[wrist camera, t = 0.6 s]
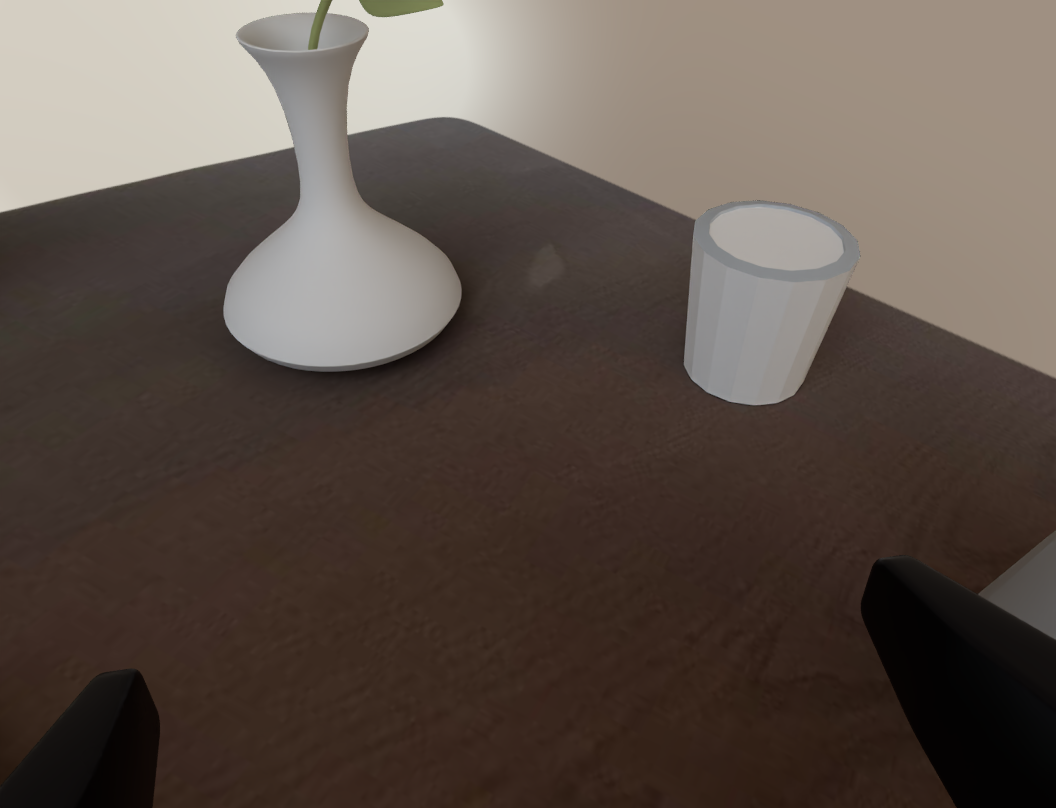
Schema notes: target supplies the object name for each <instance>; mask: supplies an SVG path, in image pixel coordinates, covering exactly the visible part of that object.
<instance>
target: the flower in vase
mask: <svg viewBox="0 0 1056 808" xmlns="http://www.w3.org/2000/svg"><path fill="white" fill-rule="evenodd" d="M331 1H332V0H321V2H320V4H319V7H318V10H317V12H316V13H294V14H284V15H277V16H271V17H267V18H263V19H259V20H256V21H253V22H251V23H249V24H247V25H245V26H243V27H242V28H241V29H239V30H238V32H237V34H236V38H237V40H238V41H239V43H240V44H241V45H242V46H243V47H244V48H245V49H246V50H247V51H248V53H249V54H251V55H252V57H253V58H254V59H255V60H256V61H257V62H258V63H259V65H260V66H261V68H262V69H263V70H264V71H265V73H266V75H267V76H268V78H269V80H270V82H271V83H272V85H273V87H274V89H275V90H276V93H277V96H278V98H279V100H280V103H281V105H282V108H283V110H284V113H285V116H286V119H287V122H288V126H289V129H290V132H291V135H292V139H293V144H294V148H295V153H296V157H297V161H298V169H299V176H300V200H299V204H298V207H297V210H296V211H295V212H294V214H293V215H292V217H291V218H290V219H289V220H288V221H286V222H285V223H284V224H283V225H282V226H281V227H280V228H278V229H277V230H276V231H275V232H274V233H272V234H271V235H270V236H269V237H267V238H266V239H265V240H264V241H263V242H262V243H261V244H260V245H258V246H257V247H256V248H255V249H254V250H253V251H252V252H251V253H250V254H249V255H248V256H247V257H246V259H245V260H244V261H243V262H242V264H241V265H240V266H239V267H238V269H237V270H236V271H235V273H234V274H233V276H232V277H231V279H230V281H229V284H228V286H227V291H226V296H225V302H224V319H225V322H226V325H227V327H228V329H229V330H230V332H231V333H232V334H233V336H234V337H235V338H236V339H237V340H238V341H239V342H241V343H242V344H243V345H244V346H246V347H247V348H248V349H250V350H251V351H253V352H254V353H256V354H257V355H259V356H261V357H263V358H264V359H266V360H269V361H271V362H274V363H276V364H279V365H283V366H286V367H290V368H295V369H300V370H306V371H319V372H339V371H350V370H358V369H364V368H370V367H374V366H378V365H382V364H386V363H388V362H391V361H394V360H397V359H400V358H402V357H404V356H407V355H409V354H411V353H413V352H415V351H417V350H418V349H420V348H422V347H424V346H425V345H426V344H428V343H429V342H430V341H432V340H433V339H434V338H435V337H436V336H437V335H438V334H439V333H441V332H442V330H443V329H444V328H445V326H446V325H447V324H448V323H449V321H450V320H451V319H452V317H453V316H454V314H455V313H456V311H457V309H458V307H459V304H460V300H461V291H462V289H461V284H460V280H459V278H458V276H457V273H456V271H455V269H454V267H453V265H452V263H451V262H450V260H449V259H448V257H447V256H446V255H445V254H444V253H443V252H442V251H441V250H440V249H439V248H438V247H436V246H435V245H434V244H432V243H431V242H430V241H428V240H427V239H426V238H424V237H423V236H422V235H420V234H419V233H417V232H415V231H413V230H411V229H410V228H408V227H406V226H404V225H402V224H400V223H398V222H396V221H395V220H392V219H390V218H388V217H386V216H384V215H382V214H380V213H379V212H377V211H375V210H374V209H372V208H371V207H369V206H368V205H367V204H366V203H365V202H364V201H363V199H362V198H361V196H360V195H359V193H358V191H357V188H356V185H355V182H354V179H353V174H352V169H351V163H350V158H349V148H348V137H347V110H346V109H347V96H348V84H349V80H350V76H351V71H352V67H353V64H354V61H355V59H356V56H357V54H358V52H359V50H360V48H361V47H362V45H363V43H364V41H365V40H366V38H367V36H368V32H369V28H368V27H367V25H366V24H364V23H363V22H361V21H359V20H357V19H355V18H352V17H348V16H342V15H337V14H328V13H327V11H328V9H329V6H330V4H331ZM359 1H360V3H361V5H362V6H363V8H364V9H365V10H366V11H367V12H368V13H369V14H371V15H373V16H377V17H391V16H399V15H404V14H410V13H414V12H419V11H424V10H429V9H433V8H437V7H440V6H442V5H443V2H442V0H359Z"/></svg>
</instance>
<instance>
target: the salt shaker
mask: <svg viewBox="0 0 1056 808" xmlns="http://www.w3.org/2000/svg"><path fill="white" fill-rule="evenodd" d="M978 595H979V596H981V597H983V598H985V599H986V600H988V601H990V602H992V603H993V604H995V605H997V606H999V607H1000V608H1002V609H1004V610H1005V611H1007V612H1009V613H1011V614H1012V615H1014V616H1016V617H1018V618H1019V619H1021V620H1023V621H1025V622H1026V623H1028V624H1030V625H1031V626H1033V627H1035V628H1037V629H1038V630H1040V631H1042V632H1044V633H1045V634H1047V635H1049V636H1050V637H1052V638H1054V639H1056V530H1055V531H1054V532H1053V533H1052V534H1050V535H1049V536H1048V537H1047V538H1045V539H1044V540H1043V541H1042V542H1041V543H1039V544H1038V545H1037V546H1036V547H1035V548H1033V549H1032V550H1031V551H1030V552H1028V553H1027V554H1026V555H1025V556H1024V557H1022V558H1021V559H1020V560H1019V561H1018V562H1016V563H1015V564H1014V565H1013V566H1011V567H1010V568H1009V569H1008V570H1007V571H1005V572H1004V573H1003V574H1002V575H1000V576H999V577H998V578H997V579H996V580H994V581H993V582H992V583H991V584H990V585H988V586H987V587H986V588H985V589H983V590H982V591H981V592H980V593H979V594H978Z"/></svg>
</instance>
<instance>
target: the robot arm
mask: <svg viewBox="0 0 1056 808" xmlns="http://www.w3.org/2000/svg"><path fill="white" fill-rule="evenodd" d="M861 614H862V618H863V621H864V623H865V626H866V628H867V630H868V632H869V635H870V637H871V639H872V641H873V644H874V646H875V648H876V650H877V653H878V655H879V657H880V659H881V662H882V664H883V666H884V668H885V671H886V673H887V675H888V677H889V679H890V682H891V684H892V686H893V688H894V691H895V693H896V695H897V697H898V700H899V702H900V704H901V706H902V709H903V711H904V713H905V715H906V717H907V719H908V721H909V723H910V725H911V727H912V729H913V731H914V733H915V735H916V737H917V739H918V741H919V742H920V744H921V746H922V748H923V750H924V751H925V753H926V755H927V757H928V758H929V760H930V762H931V764H932V765H933V767H934V769H935V771H936V772H937V774H938V776H939V778H940V779H941V781H942V783H943V785H944V786H945V788H946V790H947V792H948V793H949V795H950V797H951V799H952V800H953V802H954V804H955V806H956V807H957V808H1056V639H1054V638H1052V637H1050V636H1049V635H1047V634H1045V633H1044V632H1042V631H1040V630H1038V629H1037V628H1035V627H1033V626H1031V625H1030V624H1028V623H1026V622H1025V621H1023V620H1021V619H1019V618H1018V617H1016V616H1014V615H1012V614H1011V613H1009V612H1007V611H1005V610H1004V609H1002V608H1000V607H999V606H997V605H995V604H993V603H992V602H990V601H988V600H986V599H985V598H983V597H981V596H979V595H978V594H976V593H974V592H973V591H971V590H969V589H967V588H966V587H964V586H962V585H960V584H959V583H957V582H955V581H954V580H952V579H950V578H948V577H947V576H945V575H943V574H941V573H940V572H938V571H936V570H934V569H933V568H931V567H929V566H928V565H926V564H924V563H922V562H921V561H919V560H917V559H915V558H913V557H911V556H908V555H899V556H892V557H886V558H881V559H878V560H877V561H876V562H875V563H874V564H873V566H872V569H871V572H870V575H869V578H868V582H867V585H866V588H865V591H864V594H863V597H862V600H861ZM159 737H160V720H159V715H158V711H157V709H156V706H155V704H154V702H153V699H152V697H151V695H150V692H149V690H148V688H147V685H146V683H145V681H144V678H143V676H142V675H141V673H140V672H139V671H138V670H136V669H124V670H118V671H111V672H105V673H101V674H99V675H97V676H96V677H95V678H93V679H92V680H91V681H90V683H89V684H88V685H87V686H86V687H85V688H84V690H83V691H82V692H81V693H80V694H79V695H78V697H77V698H76V699H75V700H74V701H73V702H72V703H71V705H70V706H69V707H68V708H67V709H66V710H65V712H64V713H63V714H62V715H61V716H60V717H59V719H58V720H57V721H56V722H55V723H54V724H53V726H52V727H51V728H50V729H49V730H48V731H47V732H46V734H45V735H44V736H43V737H42V738H41V739H40V741H39V742H38V743H37V744H36V745H35V746H34V748H33V749H32V750H31V751H30V752H29V753H28V755H27V756H26V757H25V758H24V759H23V760H22V762H21V763H20V764H19V765H18V766H17V767H16V768H15V770H14V771H13V772H12V773H11V774H10V775H9V777H8V778H7V779H6V780H5V781H4V782H3V784H2V785H1V786H0V808H152V807H153V797H154V787H155V777H156V767H157V757H158V747H159Z"/></svg>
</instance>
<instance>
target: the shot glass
mask: <svg viewBox="0 0 1056 808" xmlns="http://www.w3.org/2000/svg"><path fill="white" fill-rule="evenodd" d="M859 259H860V251H859V246H858V241H857V240H856V239H855V238H854V236H852V234H851V233H850V232H849V231H848V230H847V229H846V228H845V227H844V226H843V225H841V224H839V223H837V222H836V221H834V220H832V219H830V218H828V217H826V216H824V215H823V214H821V213H819V212H815V211H812V210H809V209H805V208H802V207H798V206H795V205H792V204H786V203H777V202H768V201H760V200H757V201H743V202H730V203H727V204H724V205H721V206H718V207H715V208H711V209H709V210H707V211H706V212H705V213H704V214H703V215H702V216H700V217H699V218H698V219H697V220H696V221H695V227H694V235H693V247H692V260H691V274H690V287H689V300H688V314H687V327H686V340H685V354H684V367H685V368H686V370H687V372H688V374H689V376H690V378H691V380H693V381H694V382H695V383H696V384H697V385H699V386H700V387H701V388H702V389H704V390H705V391H706V392H707V393H710V394H712V395H715V396H717V397H719V398H722V399H724V400H727V401H729V402H735V403H741V404H748V405H764V404H774V403H778V402H781V401H783V400H785V399H787V398H789V397H791V396H793V395H795V393H796V392H797V390H798V389H799V387H800V386H801V385H802V383H803V381H804V379H805V377H806V375H807V372H808V370H809V368H810V366H811V364H812V361H813V359H814V357H815V355H816V353H817V351H818V348H819V346H820V344H821V342H822V340H823V337H824V335H825V333H826V331H827V329H828V326H829V324H830V322H831V320H832V318H833V315H834V313H835V311H836V309H837V307H838V305H839V302H840V300H841V298H842V296H843V294H844V291H845V289H846V287H847V285H848V283H849V280H850V278H851V276H852V274H853V272H854V269H855V267H856V265H857V263H858V260H859Z"/></svg>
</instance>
